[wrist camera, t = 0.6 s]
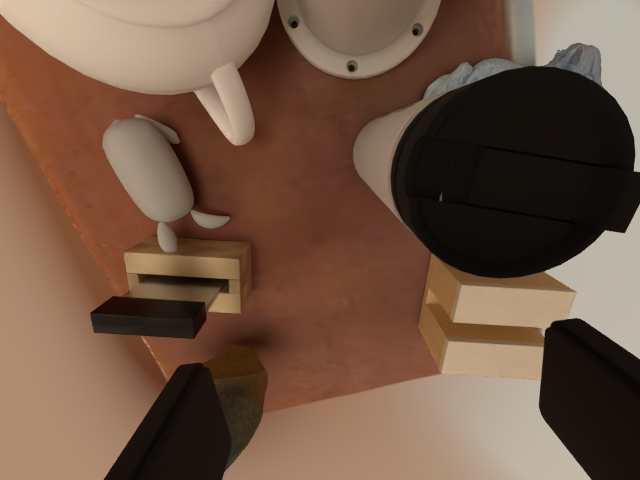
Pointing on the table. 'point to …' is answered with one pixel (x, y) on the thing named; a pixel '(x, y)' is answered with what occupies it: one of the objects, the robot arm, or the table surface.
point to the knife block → (197, 266)
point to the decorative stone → (239, 393)
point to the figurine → (570, 59)
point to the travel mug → (506, 170)
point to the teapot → (155, 47)
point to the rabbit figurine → (154, 174)
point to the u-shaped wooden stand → (489, 321)
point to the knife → (159, 307)
